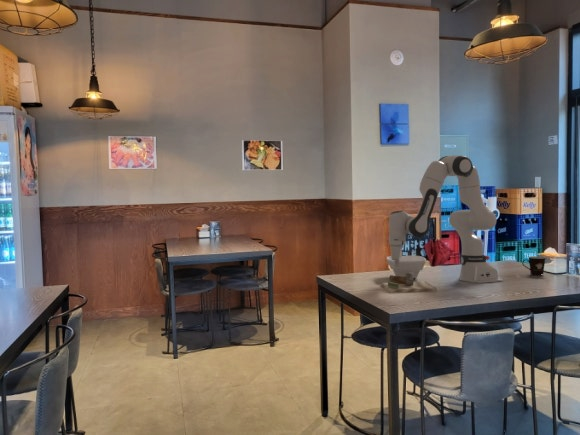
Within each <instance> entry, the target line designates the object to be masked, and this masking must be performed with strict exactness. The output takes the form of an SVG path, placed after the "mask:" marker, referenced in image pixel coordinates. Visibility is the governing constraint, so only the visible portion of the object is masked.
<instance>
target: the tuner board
mask: <svg viewBox="0 0 580 435" xmlns="http://www.w3.org/2000/svg"><path fill="white" fill-rule="evenodd" d="M380 285H381V287H383V289H384V290H386V291H387V292H388V293H390V294H391V293H393V294H394V293H420V292H421V293H423V292H426V293H427V292H429V293H430V292H437V291H438V288H437V287H436V286H433V285H432V284H430V283H429V282H427V281H413V285H406V284H398V283H392V282H390V281H388V282H381V284H380Z"/></svg>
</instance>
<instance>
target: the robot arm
mask: <svg viewBox="0 0 580 435" xmlns="http://www.w3.org/2000/svg"><path fill="white" fill-rule="evenodd" d="M448 176H449V177H456V179H457V184H458V196H459V201H460V202H461V203H462V204H464V205H466V206H467V207H468V208H469V209H460V210H455V211H452V212H451V213H450V216H449V224H450V226H451V227H452V228H453V229H454V230H455V231H456V232H457V234H458V236H459V238H460V241H461V242H460V243H461V255H460V265H461V267H460V274H459V277H458V279H459V280H460V281H462V282H469V283H476V284H477V283H478V284H480V283H482V284H483V283H494V282H495V283H496V282H503V278H502V277H500V276H499V272H498V269H497V268H496V267H495V266H493V265H492V264H490V262H487V261H489V260H491V259H490V258H491V257H490V255H485V254H484V241H483V240H482V239H481V238H480V237H479V236H478V235H477V234H475V232H474V231H489V230H492V229H494V228H495V226H496V225H497V215H496V214H495V213H494V212H493V211H491V209H489V208H488V207H487V205H486V204H485V203H484V201H483V198H482V191H481V182H480V177H479V172H478V168H476V166H474V165H473V162H472V160H471V159H470V158H469V157H468V156H465V155H457V154H456V155H455V154H454V155H453V154H452V155H445V156H442V157H441V158H439V159H438V160H433V161H432V162H431V163H430V164H429V165H428V167H427V168H426V169H425V172H424V174H423V175H422V178H421V181H420V183H419V188H418V189H419V192H420V194H421V196H422V202H421V204H420V207H419V209H418V213H417V215H416V216H413V215H412V214H409V213H407V212H406V211H405V210H396V211H392V212H391V213H390V214H389V216H388V217H389V218H388V229H389V231H388V245H389V246H390V254H391V255H390V256H392V260H395V267H399V260H400V258H401V256H403V248H404V246H405V245H406V244H407V243H406V238H407V237H406V235H407V234H409V235H412V236H414V237H415V238H422V237H424V236H426V235H428V233H429V230H430V221H431V220H430V219H431V217H432V214H433V211H434V207H435V205H436V201H437V198H438V197H439V193H440V191H441V190H442V187H443V185H444V182H445V179H446V178H447V177H448Z"/></svg>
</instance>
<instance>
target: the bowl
mask: <svg viewBox="0 0 580 435" xmlns="http://www.w3.org/2000/svg"><path fill="white" fill-rule="evenodd" d="M386 262H387V264H388V267H389V269H390V270H392V271H393V273H394V276H405V273H407V272H411V273H413V279H417V278H418V276H419V274H420V272H421V271H423V270H424V269H423V268H424V266H425V264H426V263H427V258H425V257H424V256H420V255H402V256H401V258H400V260H399V267H395V260H392V256H391V255H389V256H386Z"/></svg>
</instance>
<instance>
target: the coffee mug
mask: <svg viewBox="0 0 580 435" xmlns="http://www.w3.org/2000/svg"><path fill="white" fill-rule="evenodd" d="M526 261H527V262H528V263H529V267H528V266H526V265H525V264H524V262H526ZM545 262H546V257H545V256H528V259H524V260H522V266H523V267H525V268H526V269H527V270H529V271H530V275H531V274H534V275H533V276H538V275H540V276H542V275H541V274H543V275H544V270H545Z"/></svg>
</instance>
